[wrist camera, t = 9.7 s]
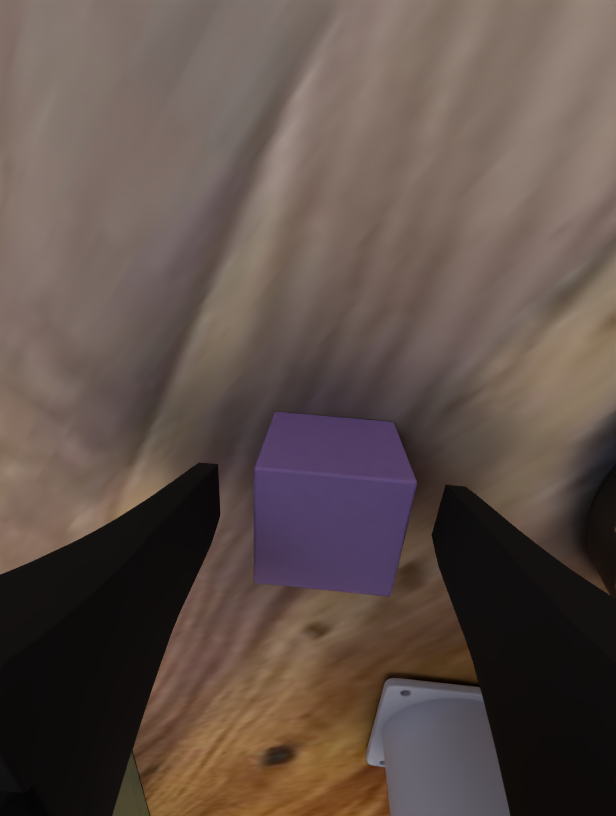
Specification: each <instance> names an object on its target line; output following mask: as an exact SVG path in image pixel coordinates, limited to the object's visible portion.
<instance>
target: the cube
mask: <svg viewBox="0 0 616 816" xmlns="http://www.w3.org/2000/svg"><path fill="white" fill-rule="evenodd" d="M416 488H417V480H416V478H415V475H414V473H413V470H412V468H411V465H410V462H409V460H408V457H407V455H406V452H405V450H404V447H403V444H402V442H401V439H400V437H399V434H398V432H397V429H396V427H395V424H394V422H389V421H377V420H366V419H354V418H343V417H331V416H320V415H308V414H296V413H285V412H275V413H274V416H273V419H272V421H271V424H270V427H269V429H268V432H267V435H266V438H265V440H264V443H263V446H262V449H261V451H260V454H259V457H258V459H257V462H256V465H255V468H254V582H255V583H261V584H271V585H281V586H291V587H301V588H311V589H321V590H330V591H340V592H350V593H360V594H370V595H380V596H390V595H391V593H392V589H393V585H394V580H395V576H396V572H397V568H398V564H399V559H400V555H401V551H402V547H403V542H404V538H405V534H406V530H407V526H408V521H409V517H410V513H411V509H412V504H413V500H414V496H415V492H416Z"/></svg>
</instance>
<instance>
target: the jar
mask: <svg viewBox="0 0 616 816" xmlns="http://www.w3.org/2000/svg"><path fill="white" fill-rule="evenodd" d="M587 539H588V546H589V551H590V554H591V557H592V559H593V562H594V564H595V566H596V568H597V570H598V572H599V574H600V576H601V578H602V581H603V583H604V585H605V587H606V588H607V590H608V592H609V594H610V596H612V597H613V598H615V599H616V465H615V466H614V468H613V469H612V470H611V471H610V473H609V474H608V475H607V477H606V478H605V480H604V481H603V483H602V484H601V486H600V488H599V490H598V491H597V494H596V496H595V498H594V501H593V503H592V507H591V510H590V516H589V523H588V531H587Z"/></svg>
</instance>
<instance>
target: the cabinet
mask: <svg viewBox="0 0 616 816" xmlns="http://www.w3.org/2000/svg"><path fill="white" fill-rule="evenodd" d="M112 816H149V812H148V808H147V805H146V801H145V797H144V794H143V790H142V786H141V783H140V779H139V776H138V772H137V768H136V765H135V761H134V757H133V754H132V752H131V755H130V758H129V762H128V765H127V768H126V772H125V775H124V778H123V782H122V785H121V788H120V792H119V795H118V798H117V802H116V805H115V808H114V812H113V815H112Z"/></svg>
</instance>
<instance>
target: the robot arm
mask: <svg viewBox="0 0 616 816" xmlns="http://www.w3.org/2000/svg"><path fill="white" fill-rule="evenodd" d="M219 518H220V498H219V476H218V464H210V463H198V464H196V465H195V466H193V467H192V468H190V469H189V470H188V471H186V472H185V473H184V474H182V475H181V476H179V477H178V478H177V479H175V480H174V481H173V482H171V483H170V484H168V485H167V486H165V487H164V488H163V489H161V490H160V491H158V492H157V493H156V494H154V495H153V496H151V497H150V498H148V499H147V500H145V501H144V502H142V503H140V504H139V505H137V506H136V507H134V508H133V509H131V510H130V511H128V512H126V513H125V514H123V515H122V516H120V517H119V518H117V519H115V520H114V521H112V522H110V523H108V524H107V525H105V526H103V527H101V528H99V529H98V530H96V531H94V532H92V533H90V534H88V535H86V536H85V537H83V538H81V539H79V540H77V541H75V542H73V543H71V544H69V545H66V546H64V547H62V548H60V549H58V550H56V551H54V552H51V553H49V554H47V555H45V556H43V557H41V558H39V559H36V560H34V561H32V562H30V563H27V564H25V565H23V566H20V567H18V568H16V569H13V570H11V571H8V572H6V573H3V574H1V575H0V816H112V815H113V812H114V808H115V805H116V802H117V798H118V795H119V792H120V788H121V785H122V782H123V778H124V775H125V772H126V768H127V765H128V762H129V758H130V755H131V752H132V749H133V746H134V743H135V740H136V736H137V733H138V730H139V727H140V724H141V721H142V718H143V714H144V711H145V708H146V705H147V702H148V699H149V696H150V693H151V690H152V688H153V685H154V682H155V679H156V676H157V673H158V670H159V667H160V664H161V661H162V658H163V655H164V653H165V650H166V647H167V644H168V641H169V639H170V636H171V633H172V630H173V628H174V625H175V623H176V620H177V618H178V616H179V613H180V611H181V609H182V607H183V604H184V602H185V600H186V598H187V596H188V594H189V592H190V589H191V587H192V585H193V583H194V581H195V579H196V576H197V574H198V572H199V570H200V568H201V566H202V563H203V561H204V559H205V557H206V555H207V552H208V550H209V548H210V546H211V543H212V540H213V537H214V534H215V531H216V528H217V524H218V521H219ZM432 539H433V544H434V549H435V553H436V557H437V561H438V565H439V569H440V571H441V574H442V577H443V580H444V583H445V585H446V588H447V591H448V594H449V596H450V599H451V602H452V604H453V607H454V610H455V612H456V615H457V618H458V620H459V623H460V626H461V629H462V631H463V634H464V637H465V639H466V642H467V645H468V648H469V651H470V654H471V657H472V660H473V664H474V668H475V671H476V675H477V679H478V682H479V686H480V687H475V686H466V685H457V684H448V683H439V682H429V681H420V680H411V679H402V678H390V679H388V680H386V682H385V683H384V687H383V691H382V695H381V698H380V702H379V706H378V710H377V714H376V717H375V721H374V725H373V729H372V732H371V736H370V740H369V744H368V747H367V751H366V759H367V762H368V763H369V764H370V765H373V766H381V767H385V768H386V778H387V787H388V796H389V805H390V815H391V816H616V599H615V598H613V597H612V596H610V595H608V594H607V593H605V592H604V591H602V590H601V589H599V588H598V587H596V586H595V585H593V584H592V583H590V582H589V581H587V580H586V579H584V578H583V577H581V576H580V575H578V574H577V573H575V572H574V571H572V570H571V569H570V568H568V567H567V566H565V565H564V564H562V563H561V562H560V561H558V560H557V559H556V558H554V557H553V556H552V555H550V554H549V553H548V552H546V551H545V550H544V549H542V548H541V547H540V546H538V545H537V544H536V543H534V542H533V541H532V540H531V539H529V538H528V537H527V536H526V535H524V534H523V533H522V532H521V531H519V530H518V529H517V528H516V527H514V526H513V525H512V524H511V523H510V522H508V521H507V520H506V519H505V518H504V517H502V516H501V515H500V514H499V513H498V512H496V511H495V510H494V509H493V508H492V507H490V506H489V505H488V504H487V503H486V502H484V501H483V500H482V499H481V498H479V497H478V496H477V495H476V494H475V493H473V492H472V491H471V490H469V489H468V488H467V487H464V486H453V485H445V489H444V493H443V496H442V500H441V503H440V507H439V510H438V514H437V518H436V521H435V525H434V528H433V532H432Z"/></svg>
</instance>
